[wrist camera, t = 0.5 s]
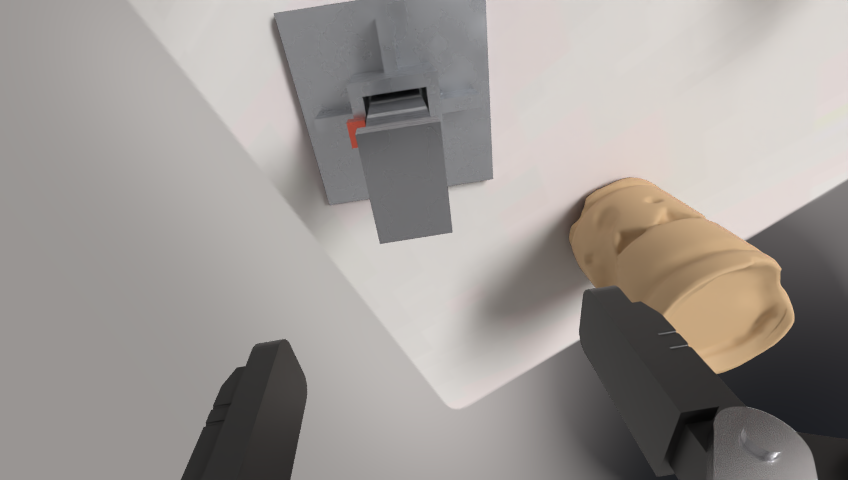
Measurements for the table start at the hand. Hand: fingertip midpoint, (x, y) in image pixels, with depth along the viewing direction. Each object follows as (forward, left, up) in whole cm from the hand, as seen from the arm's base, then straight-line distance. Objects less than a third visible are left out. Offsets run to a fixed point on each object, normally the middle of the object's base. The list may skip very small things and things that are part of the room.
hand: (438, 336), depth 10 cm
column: (0, 0, -30) cm, 30 cm away
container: (+18, +24, -32) cm, 43 cm away
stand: (0, 0, -31) cm, 31 cm away
